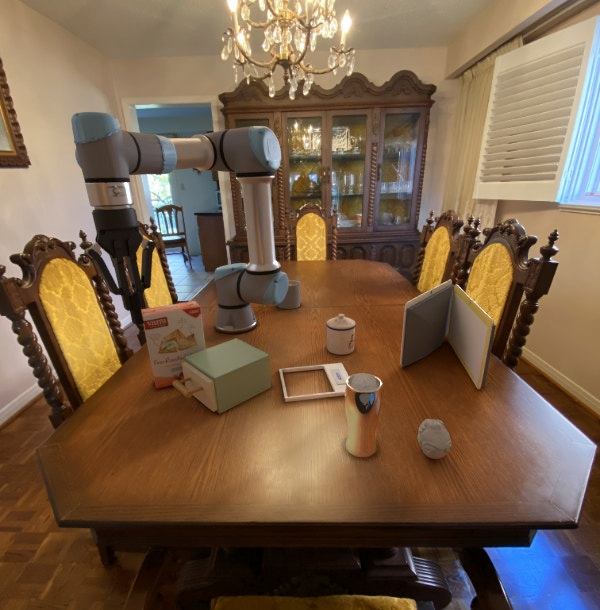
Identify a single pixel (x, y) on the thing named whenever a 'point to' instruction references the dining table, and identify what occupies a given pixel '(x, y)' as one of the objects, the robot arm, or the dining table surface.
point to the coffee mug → (291, 296)
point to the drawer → (197, 386)
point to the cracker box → (172, 339)
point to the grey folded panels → (462, 329)
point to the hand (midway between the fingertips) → (138, 322)
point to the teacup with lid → (340, 335)
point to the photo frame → (334, 374)
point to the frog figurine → (434, 438)
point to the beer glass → (362, 413)
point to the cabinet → (234, 371)
